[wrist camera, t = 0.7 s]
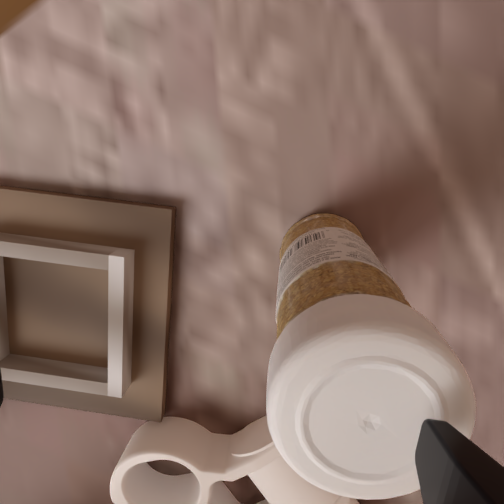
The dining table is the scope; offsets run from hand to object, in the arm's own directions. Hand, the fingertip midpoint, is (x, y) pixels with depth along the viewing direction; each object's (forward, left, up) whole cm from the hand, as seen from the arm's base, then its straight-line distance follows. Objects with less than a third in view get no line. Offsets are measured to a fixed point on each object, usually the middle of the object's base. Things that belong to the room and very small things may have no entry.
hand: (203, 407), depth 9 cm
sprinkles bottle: (0, -4, -14) cm, 14 cm away
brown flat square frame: (-5, +10, -14) cm, 18 cm away
